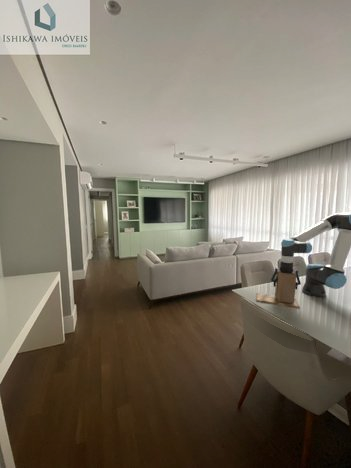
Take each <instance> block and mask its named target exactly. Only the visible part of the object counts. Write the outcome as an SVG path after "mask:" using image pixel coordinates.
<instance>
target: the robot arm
mask: <svg viewBox="0 0 351 468" xmlns="http://www.w3.org/2000/svg"><path fill="white" fill-rule="evenodd" d="M333 229H337V231H338V234H337V237H336V240H335V242H334V245H333V248H332V251H331V254H330V255H329V256H330V257H329V260H328V262H327V264H318V263H308V264H307V265H306V268H305V281H304V284H303V286H302V288H301V291H302V293H304V294H305V295H307V296H311V297H315V298H325V297H326V296H327V291H326V289H325V287H327V288H330V289H334V290H339V289H340V288H343V287H344V286H345V285H346V283H347V276H346V275H345V270H344V266H345V264H346V262H347V258H348V256H349V253H350V250H351V212H348V211H347V212H346V211H345V212H341V211H340V212H336V213H333V214H330V215H328V216H326V217H324V218H322V219H320V221H319V222H318V223H316V224H314V225H313V226H311V227H308V228H307V229H305V230H303V231H302V232H300V233H298V234H296V235H294V236H292V237H291V238H285V239H284V238H283V239H282V240H281V243H280V245H281V249H280V250H281V251H280V266H279V268H278V267H275V268H274V272H273V273H272V276H271V278H270V280H271V282H273V283H272V284H273V287H274V293H275V292H276V290H277V282H276V281H277V280H278V277H276V274H277V271H279V270H280V271H281V272H282V273H292V272H293V273H294V274H295V275H296V287H295V291H296V290H298V286H300V285H301V284H302V283H301V279H300V275H299V271H298V269H294V263H293V262H294V258H295V257H294V255H295V254H310V253H311V252H312V251H313V245H312V244H311V243H310V242H308V241H310V240H311V239H314V238H315V237H317V236H319V235H322V234H323V233H324V232H327V231H328V232H330V231H331V230H333Z"/></svg>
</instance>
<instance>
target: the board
mask: <svg viewBox="0 0 351 468" xmlns="http://www.w3.org/2000/svg"><path fill="white" fill-rule="evenodd" d="M256 302H259V303H265V304H270V305H278V306H283V307H289V308H296V309H300V307H301V306H300V305H299V302H298V300H297V298H295V300H294V303H286V302H279V301H278V300H277V298H276V297H275V294H267V293H260V292H257V293H256Z"/></svg>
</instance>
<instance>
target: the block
mask: <svg viewBox="0 0 351 468" xmlns="http://www.w3.org/2000/svg"><path fill="white" fill-rule="evenodd" d="M276 277H278V280H277V281H276V282H277V290H276V292H275V291H274V295H275V297H276V298H277V300H278V301H279V302H286V303H294V300H295V299H296V289H295V287H296V282H297V278H296V275H295V273H294V272H292V273H282V272H281V271H280V270H279V271H277V274H276V276H275V278H276Z"/></svg>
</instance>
